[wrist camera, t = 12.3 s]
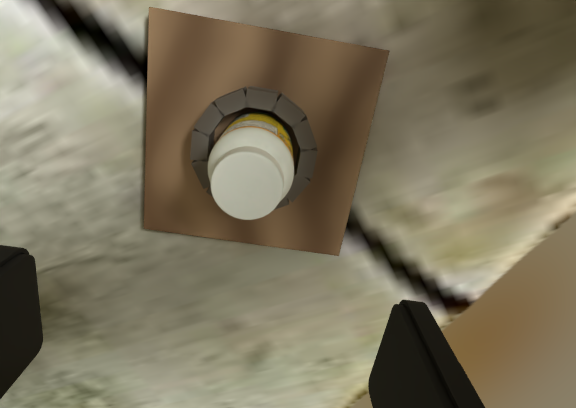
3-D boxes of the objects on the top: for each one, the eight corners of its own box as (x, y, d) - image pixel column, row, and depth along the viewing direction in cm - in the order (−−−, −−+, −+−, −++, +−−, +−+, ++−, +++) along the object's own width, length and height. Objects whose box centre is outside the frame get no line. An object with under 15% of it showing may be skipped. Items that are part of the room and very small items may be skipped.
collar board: (384, 50, 28) (399, 50, 24) (336, 247, 34) (342, 271, 31) (155, 9, 27) (135, 2, 23) (149, 221, 33) (132, 242, 29)
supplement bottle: (229, 104, 28) (203, 127, 19) (298, 118, 28) (305, 148, 19) (219, 171, 30) (191, 221, 21) (284, 184, 30) (285, 238, 21)
